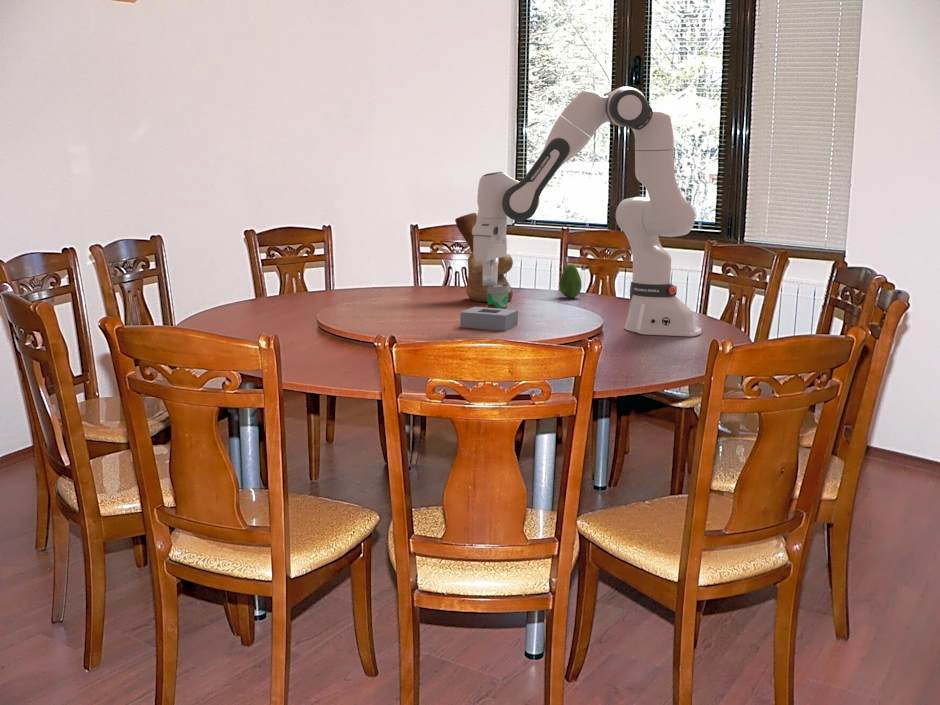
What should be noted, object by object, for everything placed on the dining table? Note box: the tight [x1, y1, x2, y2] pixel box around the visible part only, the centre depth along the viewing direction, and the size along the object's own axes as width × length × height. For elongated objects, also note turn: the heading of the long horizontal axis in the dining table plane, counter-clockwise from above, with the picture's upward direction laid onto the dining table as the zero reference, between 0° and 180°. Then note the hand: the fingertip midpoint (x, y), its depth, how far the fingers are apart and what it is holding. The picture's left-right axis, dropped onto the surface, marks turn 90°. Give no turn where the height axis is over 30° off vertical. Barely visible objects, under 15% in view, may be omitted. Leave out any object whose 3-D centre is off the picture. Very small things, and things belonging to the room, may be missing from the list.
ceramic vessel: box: [454, 212, 514, 303], centre depth 372 cm, size 16×22×30 cm
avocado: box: [558, 264, 582, 299], centre depth 383 cm, size 8×8×12 cm
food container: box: [487, 283, 511, 309], centre depth 338 cm, size 12×6×10 cm, turn 168°
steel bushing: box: [482, 258, 498, 286], centre depth 318 cm, size 4×4×8 cm
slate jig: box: [459, 306, 519, 332], centre depth 320 cm, size 14×12×4 cm
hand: (490, 274), depth 318 cm, fingers closed on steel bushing, 4 cm apart
